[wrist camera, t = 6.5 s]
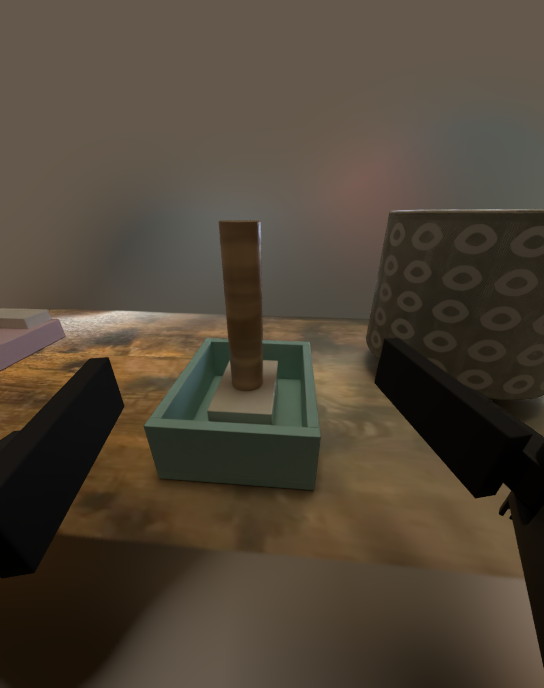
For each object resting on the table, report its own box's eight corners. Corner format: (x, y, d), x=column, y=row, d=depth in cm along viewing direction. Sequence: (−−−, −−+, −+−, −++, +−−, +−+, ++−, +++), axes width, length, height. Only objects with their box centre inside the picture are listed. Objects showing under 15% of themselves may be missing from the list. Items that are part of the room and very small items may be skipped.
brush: (271, 448, 21) (272, 222, 13) (211, 444, 21) (179, 222, 14) (277, 389, 28) (280, 220, 21) (232, 386, 28) (218, 219, 21)
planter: (599, 433, 23) (774, 209, 15) (383, 417, 25) (437, 208, 17) (475, 342, 40) (527, 212, 32) (351, 335, 42) (371, 211, 34)
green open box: (314, 490, 18) (320, 437, 16) (158, 478, 19) (143, 426, 17) (306, 381, 31) (309, 341, 28) (211, 377, 31) (206, 337, 29)
